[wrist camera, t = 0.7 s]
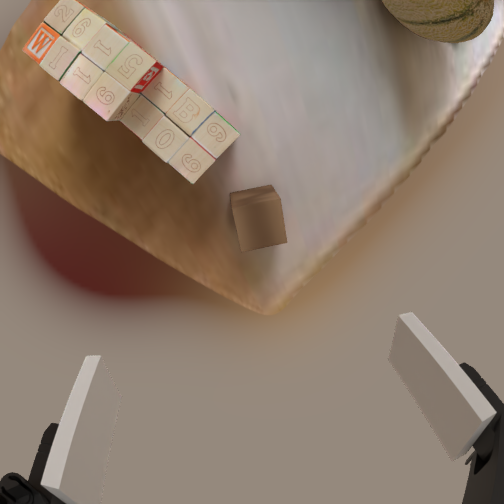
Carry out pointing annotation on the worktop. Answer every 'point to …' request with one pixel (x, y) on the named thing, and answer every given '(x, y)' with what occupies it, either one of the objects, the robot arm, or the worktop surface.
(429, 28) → the cantaloupe
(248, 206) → the walnut block
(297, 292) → the worktop surface
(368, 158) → the worktop surface
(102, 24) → the stack of blocks
